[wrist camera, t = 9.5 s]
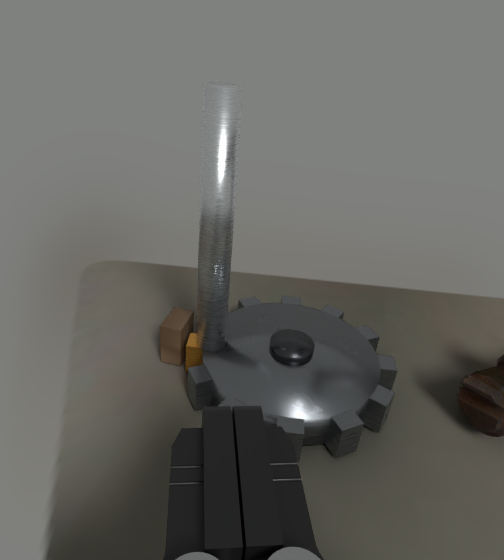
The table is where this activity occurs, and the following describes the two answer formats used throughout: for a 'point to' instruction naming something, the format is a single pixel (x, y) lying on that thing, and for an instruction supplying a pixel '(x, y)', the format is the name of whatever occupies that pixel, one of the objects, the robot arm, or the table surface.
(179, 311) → the brown block
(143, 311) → the table surface
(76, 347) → the table surface
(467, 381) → the bolt
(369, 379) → the sprocket
